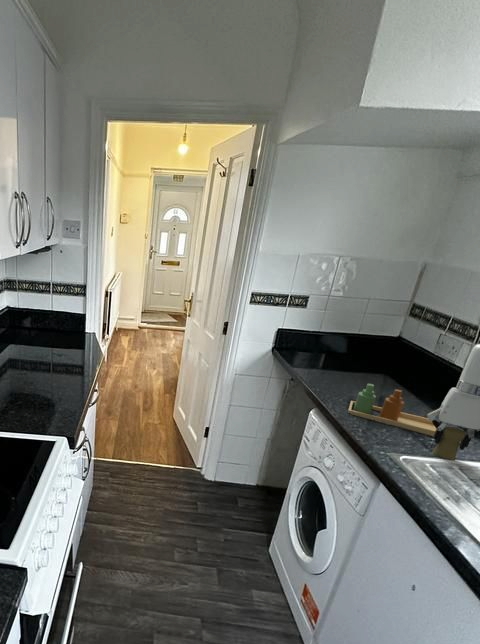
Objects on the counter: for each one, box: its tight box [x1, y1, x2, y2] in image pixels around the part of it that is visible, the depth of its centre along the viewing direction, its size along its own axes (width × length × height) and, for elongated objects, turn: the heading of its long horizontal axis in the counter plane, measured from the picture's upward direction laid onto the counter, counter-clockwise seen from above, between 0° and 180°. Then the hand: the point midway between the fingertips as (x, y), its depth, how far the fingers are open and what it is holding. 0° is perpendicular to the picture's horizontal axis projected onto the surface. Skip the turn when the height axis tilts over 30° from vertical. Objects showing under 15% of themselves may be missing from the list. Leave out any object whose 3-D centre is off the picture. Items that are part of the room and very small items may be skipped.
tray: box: [347, 400, 440, 437], centre depth 151 cm, size 28×12×2 cm, turn 56°
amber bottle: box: [378, 389, 405, 421], centre depth 149 cm, size 6×6×11 cm
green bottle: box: [352, 383, 377, 415], centre depth 153 cm, size 6×6×11 cm
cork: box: [430, 425, 466, 461], centre depth 123 cm, size 6×6×11 cm
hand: (448, 444), depth 123 cm, fingers closed on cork, 5 cm apart
